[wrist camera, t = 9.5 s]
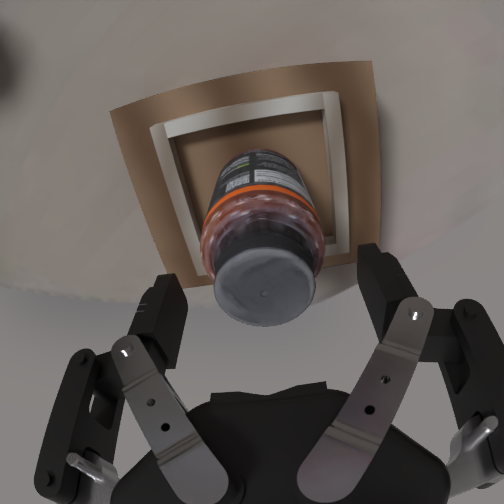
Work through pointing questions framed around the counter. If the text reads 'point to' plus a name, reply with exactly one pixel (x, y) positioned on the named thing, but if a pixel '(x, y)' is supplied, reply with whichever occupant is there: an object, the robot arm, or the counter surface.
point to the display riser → (251, 137)
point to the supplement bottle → (262, 239)
